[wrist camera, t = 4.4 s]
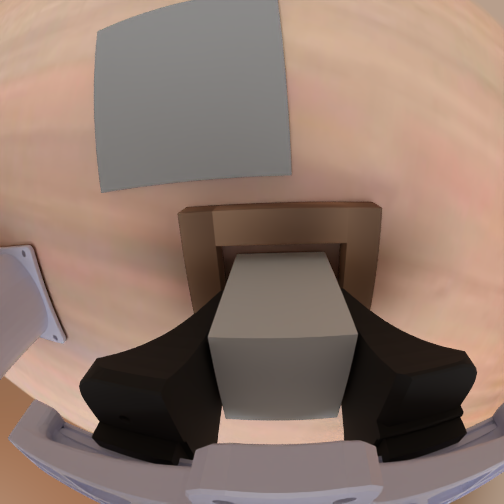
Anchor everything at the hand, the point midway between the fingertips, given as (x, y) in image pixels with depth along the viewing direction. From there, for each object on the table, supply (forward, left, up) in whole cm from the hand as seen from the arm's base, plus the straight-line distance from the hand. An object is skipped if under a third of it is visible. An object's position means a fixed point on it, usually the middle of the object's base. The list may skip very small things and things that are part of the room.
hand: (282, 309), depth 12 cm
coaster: (-4, +10, -2) cm, 11 cm away
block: (0, 0, -2) cm, 2 cm away
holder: (0, 0, -2) cm, 2 cm away
